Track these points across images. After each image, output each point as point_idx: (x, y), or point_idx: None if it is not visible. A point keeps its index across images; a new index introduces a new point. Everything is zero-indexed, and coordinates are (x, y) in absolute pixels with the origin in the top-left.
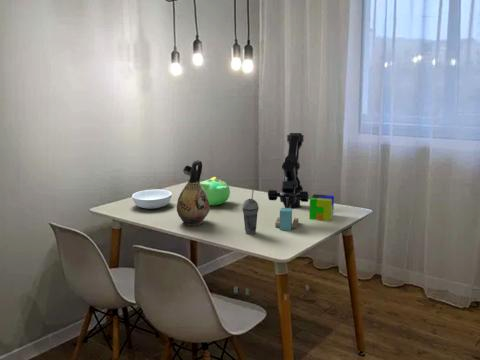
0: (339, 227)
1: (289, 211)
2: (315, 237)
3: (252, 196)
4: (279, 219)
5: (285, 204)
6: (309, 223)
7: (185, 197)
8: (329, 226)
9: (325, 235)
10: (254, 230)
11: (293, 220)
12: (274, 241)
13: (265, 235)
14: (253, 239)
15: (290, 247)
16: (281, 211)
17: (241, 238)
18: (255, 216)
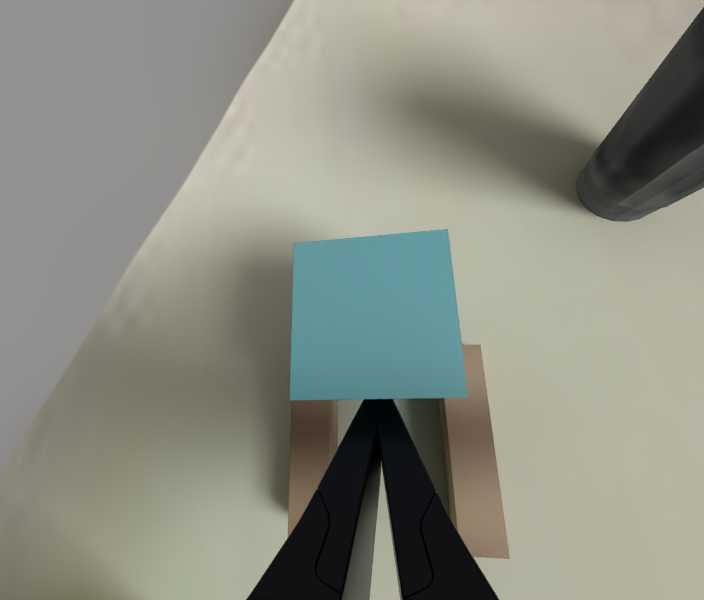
0: (27, 443)
1: (314, 241)
2: (191, 221)
3: None
4: (468, 464)
5: (408, 481)
6: (214, 512)
7: None
8: (83, 455)
9: (135, 267)
10: (595, 151)
11: (328, 453)
12: (409, 103)
13: (491, 172)
14: (544, 92)
15: (313, 61)
16: (423, 235)
17: (630, 83)
18: (700, 15)
